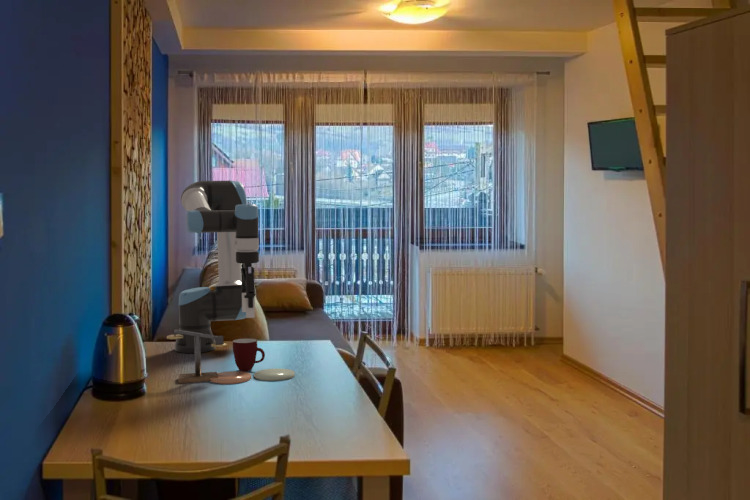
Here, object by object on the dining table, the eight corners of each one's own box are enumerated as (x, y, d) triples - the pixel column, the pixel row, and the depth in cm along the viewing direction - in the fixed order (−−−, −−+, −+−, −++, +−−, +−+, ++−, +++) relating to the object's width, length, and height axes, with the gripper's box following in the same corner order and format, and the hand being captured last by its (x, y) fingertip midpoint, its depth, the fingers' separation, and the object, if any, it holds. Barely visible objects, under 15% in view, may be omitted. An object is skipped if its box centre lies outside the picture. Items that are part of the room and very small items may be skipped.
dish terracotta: (208, 375, 244) (208, 372, 244) (249, 373, 248) (249, 370, 248) (210, 385, 232) (210, 382, 232) (253, 382, 235) (253, 379, 235)
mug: (265, 367, 257) (264, 337, 256) (264, 372, 249) (264, 342, 248) (233, 368, 256) (233, 338, 255) (232, 373, 248) (231, 343, 247)
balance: (167, 379, 240) (166, 328, 238) (227, 375, 245) (226, 325, 243) (167, 384, 234) (166, 331, 233) (228, 379, 239) (227, 328, 238)
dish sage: (252, 372, 248) (252, 370, 248) (291, 370, 252) (291, 367, 252) (256, 382, 236) (256, 379, 236) (297, 379, 239) (297, 376, 239)
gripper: (232, 248, 261) (233, 309, 262) (239, 253, 237) (240, 320, 238) (254, 248, 263) (255, 308, 264) (263, 253, 239) (264, 319, 240)
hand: (248, 314), depth 251 cm, fingers open, 13 cm apart
